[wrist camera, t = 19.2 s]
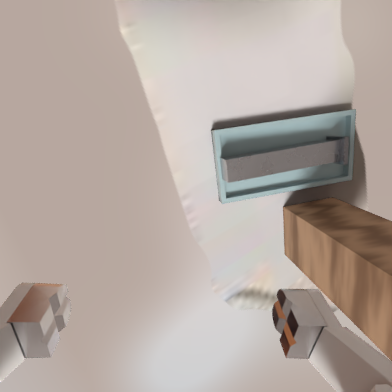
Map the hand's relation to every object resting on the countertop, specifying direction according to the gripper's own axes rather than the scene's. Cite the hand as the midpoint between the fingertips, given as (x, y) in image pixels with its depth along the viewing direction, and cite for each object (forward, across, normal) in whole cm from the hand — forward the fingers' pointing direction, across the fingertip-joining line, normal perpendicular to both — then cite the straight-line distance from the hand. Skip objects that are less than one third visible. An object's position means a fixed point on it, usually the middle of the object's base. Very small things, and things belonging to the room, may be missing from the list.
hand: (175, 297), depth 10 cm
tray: (+34, -18, +4) cm, 38 cm away
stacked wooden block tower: (+32, -25, +17) cm, 44 cm away
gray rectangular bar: (+32, -16, +4) cm, 36 cm away
